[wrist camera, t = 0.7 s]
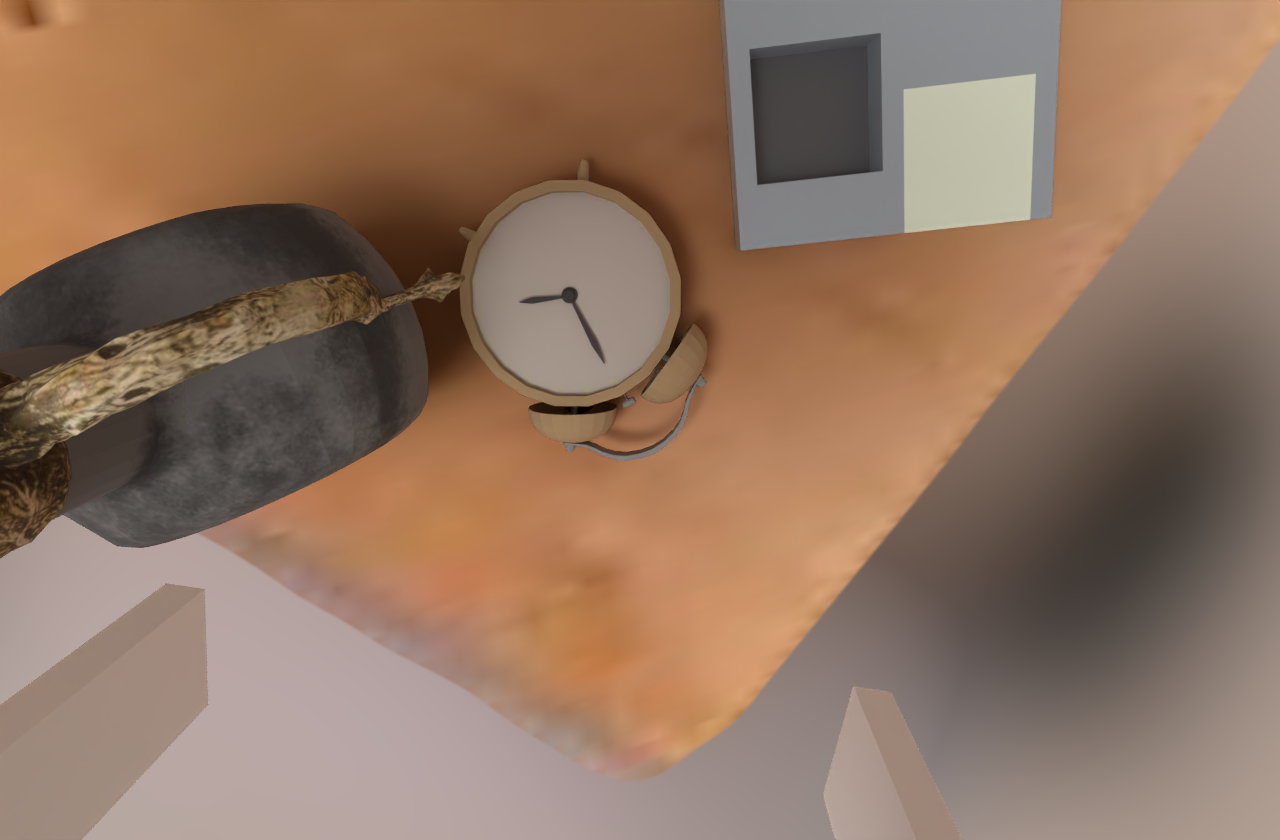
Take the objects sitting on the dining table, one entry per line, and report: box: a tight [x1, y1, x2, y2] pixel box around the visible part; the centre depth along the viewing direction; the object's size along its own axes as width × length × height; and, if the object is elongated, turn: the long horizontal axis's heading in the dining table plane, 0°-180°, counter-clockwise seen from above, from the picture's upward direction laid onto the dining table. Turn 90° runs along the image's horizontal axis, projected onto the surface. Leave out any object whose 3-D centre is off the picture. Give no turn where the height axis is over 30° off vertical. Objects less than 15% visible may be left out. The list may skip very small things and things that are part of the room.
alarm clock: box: [459, 160, 708, 461], centre depth 37 cm, size 11×5×15 cm
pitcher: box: [0, 204, 465, 558], centre depth 24 cm, size 11×19×30 cm, turn 112°
